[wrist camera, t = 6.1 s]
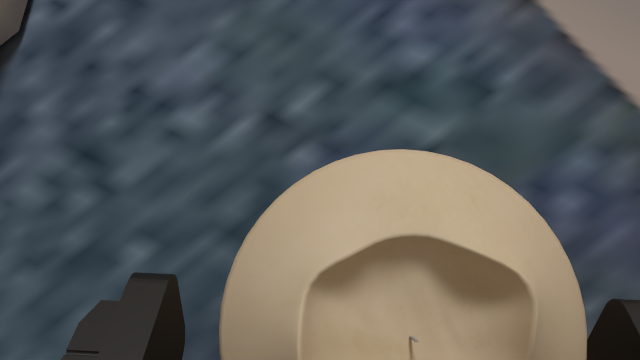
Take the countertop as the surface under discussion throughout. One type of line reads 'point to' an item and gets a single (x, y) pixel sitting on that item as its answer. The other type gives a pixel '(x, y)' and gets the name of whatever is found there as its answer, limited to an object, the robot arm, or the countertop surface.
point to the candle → (401, 269)
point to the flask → (10, 17)
